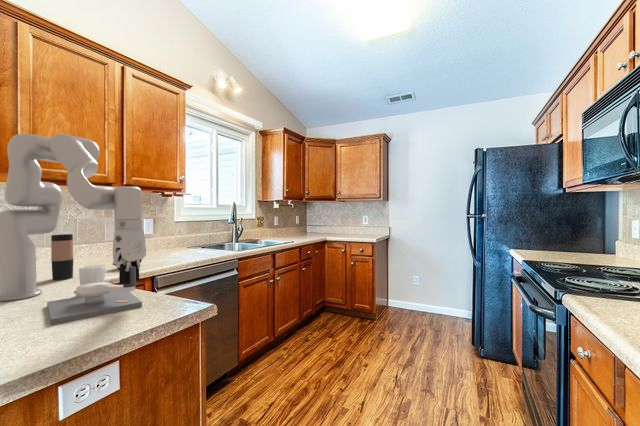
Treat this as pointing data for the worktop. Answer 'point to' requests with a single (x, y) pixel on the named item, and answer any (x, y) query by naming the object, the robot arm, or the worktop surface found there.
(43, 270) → the worktop surface
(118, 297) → the post base
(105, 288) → the lever handle
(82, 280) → the white cup
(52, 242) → the travel mug
